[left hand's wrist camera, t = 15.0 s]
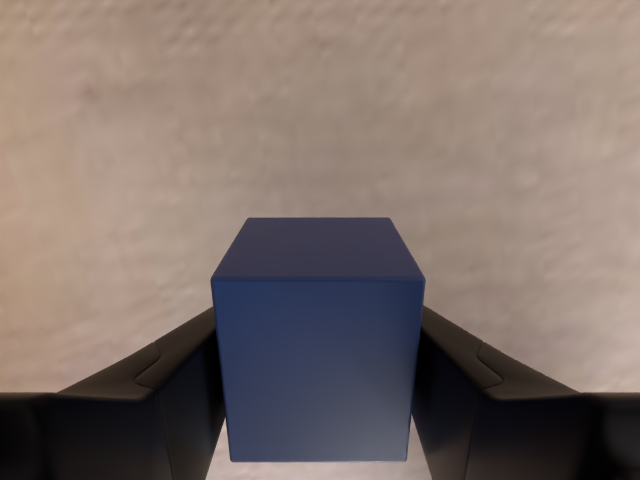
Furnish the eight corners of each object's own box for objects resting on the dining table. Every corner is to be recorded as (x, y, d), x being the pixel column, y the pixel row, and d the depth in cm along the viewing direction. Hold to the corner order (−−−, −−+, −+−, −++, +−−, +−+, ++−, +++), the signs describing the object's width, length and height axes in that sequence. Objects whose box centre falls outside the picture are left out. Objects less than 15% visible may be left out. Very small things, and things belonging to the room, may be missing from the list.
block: (381, 355, 13) (407, 464, 9) (256, 355, 13) (229, 464, 9) (390, 216, 11) (426, 277, 8) (246, 216, 11) (208, 277, 8)
